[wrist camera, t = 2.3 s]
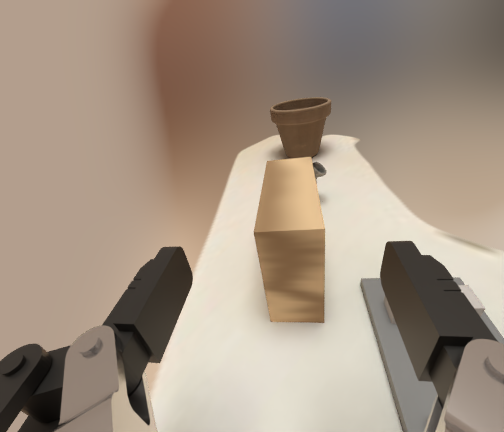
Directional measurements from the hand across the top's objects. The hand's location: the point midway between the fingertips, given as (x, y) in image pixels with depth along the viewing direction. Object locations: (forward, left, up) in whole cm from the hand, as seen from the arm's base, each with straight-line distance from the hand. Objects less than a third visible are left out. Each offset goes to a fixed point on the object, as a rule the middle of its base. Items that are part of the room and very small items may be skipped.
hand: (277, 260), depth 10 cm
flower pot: (-2, -44, -13) cm, 46 cm away
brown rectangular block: (0, -11, -13) cm, 17 cm away
